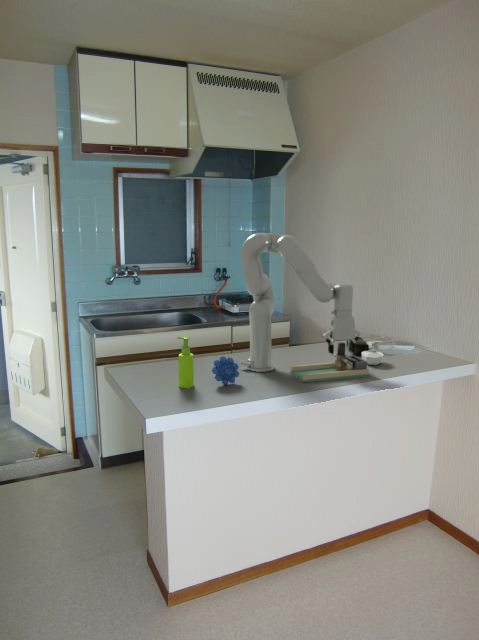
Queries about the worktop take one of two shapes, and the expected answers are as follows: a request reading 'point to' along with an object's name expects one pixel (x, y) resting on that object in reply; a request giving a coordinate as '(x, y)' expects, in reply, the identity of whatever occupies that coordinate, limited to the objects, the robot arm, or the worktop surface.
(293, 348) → the worktop surface
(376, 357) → the cell model
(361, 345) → the beverage carton
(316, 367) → the pitch
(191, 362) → the soap dispenser
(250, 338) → the robot arm
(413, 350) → the worktop surface
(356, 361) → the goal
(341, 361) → the kicker
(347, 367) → the ball
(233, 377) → the blue knobbed wheel
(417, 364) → the worktop surface
